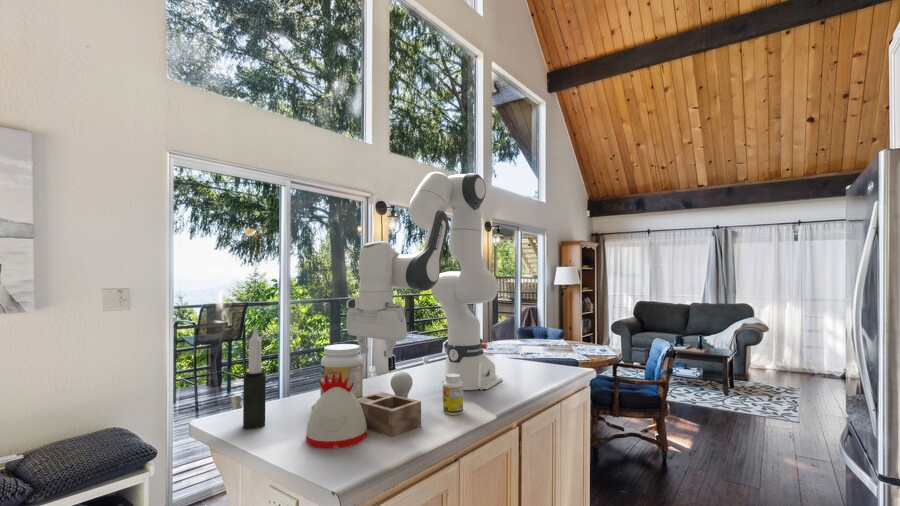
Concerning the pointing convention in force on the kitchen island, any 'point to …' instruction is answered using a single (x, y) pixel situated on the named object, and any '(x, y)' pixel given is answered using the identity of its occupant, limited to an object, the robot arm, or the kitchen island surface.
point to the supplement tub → (344, 366)
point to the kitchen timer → (336, 417)
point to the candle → (254, 387)
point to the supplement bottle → (453, 395)
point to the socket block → (390, 413)
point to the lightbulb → (401, 383)
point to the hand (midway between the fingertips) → (375, 355)
